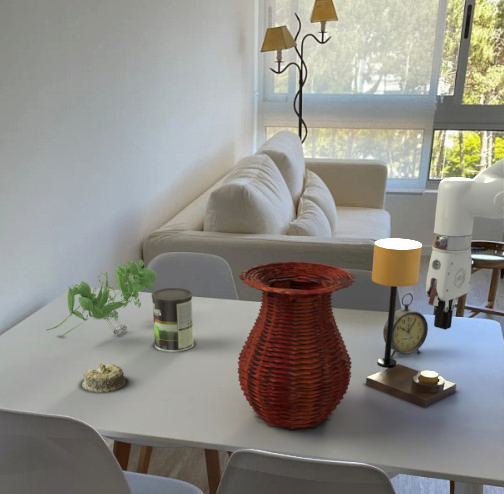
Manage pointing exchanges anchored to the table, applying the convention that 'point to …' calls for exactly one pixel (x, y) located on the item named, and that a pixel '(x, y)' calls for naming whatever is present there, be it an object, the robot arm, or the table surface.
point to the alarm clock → (407, 330)
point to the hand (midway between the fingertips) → (442, 327)
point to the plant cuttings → (96, 304)
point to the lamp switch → (428, 377)
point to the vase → (295, 345)
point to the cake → (104, 379)
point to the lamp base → (410, 385)
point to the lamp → (395, 278)
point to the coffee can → (173, 319)
